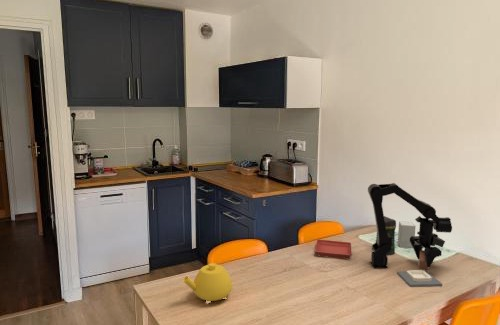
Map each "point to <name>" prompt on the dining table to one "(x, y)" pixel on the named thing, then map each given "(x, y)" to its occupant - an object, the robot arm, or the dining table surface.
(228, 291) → the teapot
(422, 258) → the terracotta pin
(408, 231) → the supplement box
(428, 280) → the board
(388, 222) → the coffee jar
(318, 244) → the plant saucer
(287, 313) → the dining table surface
